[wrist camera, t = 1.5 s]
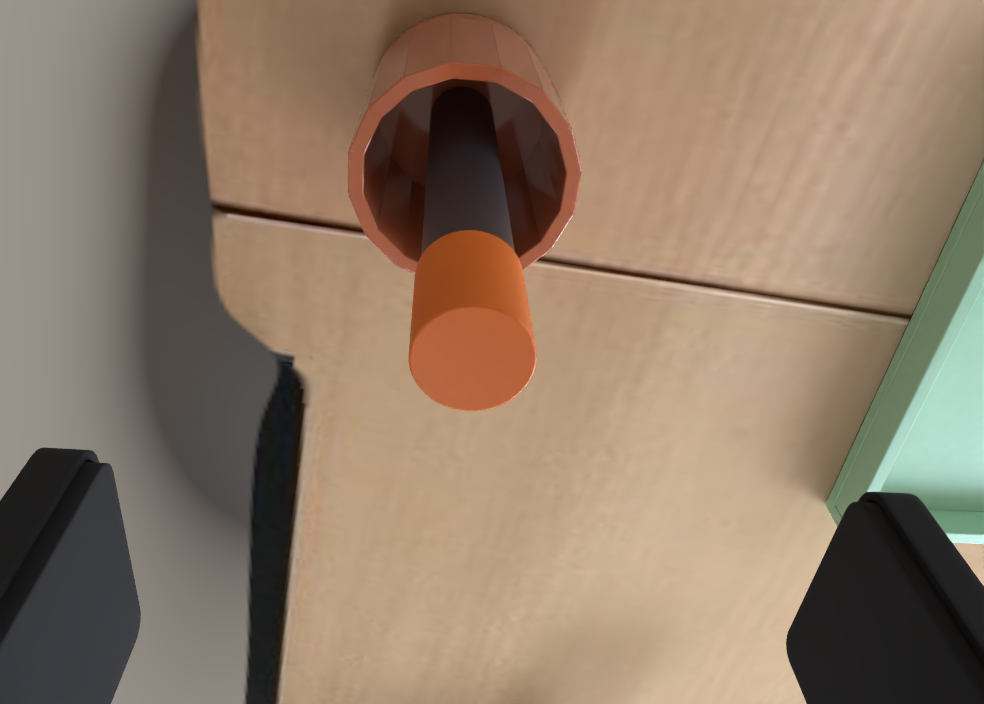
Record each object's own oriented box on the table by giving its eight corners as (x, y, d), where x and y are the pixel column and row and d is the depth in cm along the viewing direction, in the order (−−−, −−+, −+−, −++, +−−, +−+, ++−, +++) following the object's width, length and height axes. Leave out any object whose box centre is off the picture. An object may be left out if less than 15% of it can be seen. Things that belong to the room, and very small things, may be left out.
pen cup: (371, 2, 24) (349, 51, 18) (565, 23, 25) (599, 76, 19) (367, 189, 27) (347, 277, 22) (538, 203, 28) (560, 292, 22)
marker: (429, 79, 24) (412, 300, 13) (499, 86, 25) (545, 310, 13) (425, 148, 26) (405, 408, 14) (492, 154, 26) (528, 415, 14)
